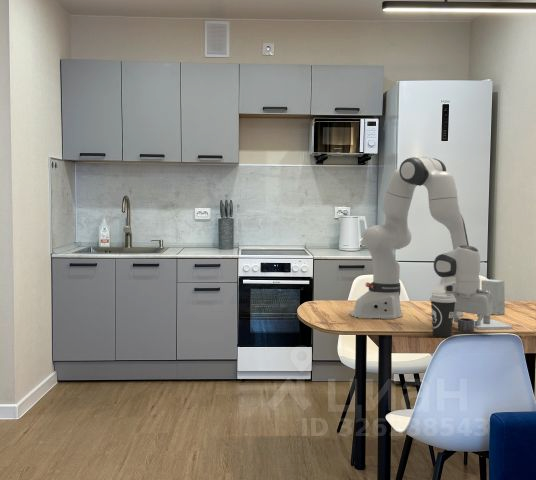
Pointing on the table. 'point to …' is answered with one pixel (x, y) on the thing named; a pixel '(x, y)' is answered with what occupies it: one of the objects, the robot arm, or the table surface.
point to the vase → (441, 290)
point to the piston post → (491, 324)
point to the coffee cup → (442, 313)
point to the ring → (465, 324)
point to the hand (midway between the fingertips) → (466, 324)
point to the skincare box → (495, 294)
